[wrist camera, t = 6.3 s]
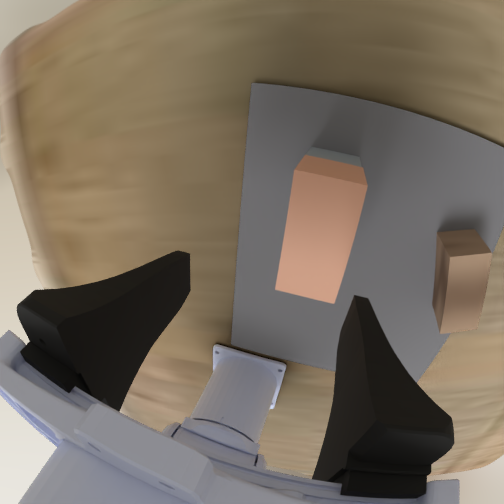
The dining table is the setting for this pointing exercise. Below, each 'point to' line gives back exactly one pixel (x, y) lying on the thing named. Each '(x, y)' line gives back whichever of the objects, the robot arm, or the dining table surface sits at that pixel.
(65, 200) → the dining table surface
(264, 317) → the felt mat
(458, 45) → the dining table surface
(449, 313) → the brick walnut
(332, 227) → the brick terracotta
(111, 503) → the robot arm
